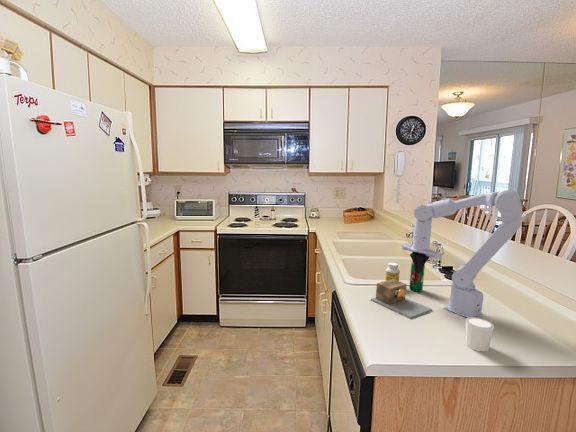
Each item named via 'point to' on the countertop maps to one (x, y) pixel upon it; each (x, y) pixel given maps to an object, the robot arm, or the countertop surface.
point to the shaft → (400, 294)
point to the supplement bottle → (392, 272)
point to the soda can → (416, 279)
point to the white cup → (478, 333)
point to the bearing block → (389, 291)
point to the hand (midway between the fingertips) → (418, 272)
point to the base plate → (406, 307)
